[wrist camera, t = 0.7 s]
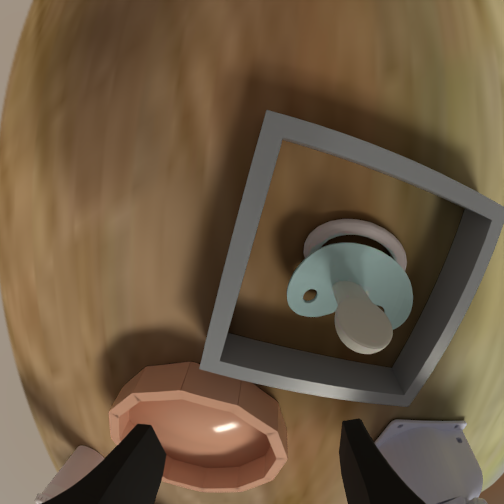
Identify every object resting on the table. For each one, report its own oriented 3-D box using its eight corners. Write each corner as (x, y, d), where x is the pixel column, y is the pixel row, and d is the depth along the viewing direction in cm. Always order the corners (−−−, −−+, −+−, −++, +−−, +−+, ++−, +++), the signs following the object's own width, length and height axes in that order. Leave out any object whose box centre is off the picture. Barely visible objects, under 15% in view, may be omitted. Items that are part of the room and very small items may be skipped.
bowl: (309, 389, 21) (313, 419, 18) (258, 477, 25) (256, 501, 23) (124, 339, 21) (107, 364, 18) (123, 442, 25) (113, 464, 22)
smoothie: (57, 435, 26) (7, 521, 13) (96, 439, 26) (46, 542, 12) (87, 468, 28) (49, 550, 15) (127, 473, 27) (91, 568, 14)
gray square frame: (480, 199, 16) (508, 209, 13) (396, 379, 20) (408, 406, 18) (267, 116, 16) (266, 109, 13) (208, 340, 20) (199, 369, 17)
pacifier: (307, 201, 17) (277, 298, 19) (328, 224, 11) (279, 360, 13) (419, 238, 17) (383, 324, 19) (475, 273, 11) (418, 383, 13)
